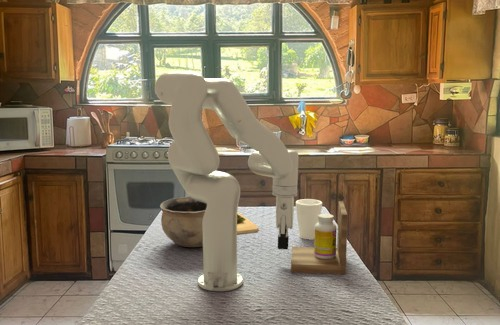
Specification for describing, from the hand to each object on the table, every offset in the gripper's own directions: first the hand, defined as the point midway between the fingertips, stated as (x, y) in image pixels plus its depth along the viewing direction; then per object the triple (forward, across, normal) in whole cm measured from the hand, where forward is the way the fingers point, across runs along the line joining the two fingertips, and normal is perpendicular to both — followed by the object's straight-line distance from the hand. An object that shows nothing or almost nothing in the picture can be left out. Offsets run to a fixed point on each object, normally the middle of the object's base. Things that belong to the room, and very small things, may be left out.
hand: (282, 248), depth 157 cm
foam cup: (+4, +28, -8) cm, 29 cm away
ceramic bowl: (+5, +15, +32) cm, 36 cm away
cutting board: (+5, +43, +28) cm, 52 cm away
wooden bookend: (+4, +1, -11) cm, 12 cm away
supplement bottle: (+2, +1, -13) cm, 13 cm away
